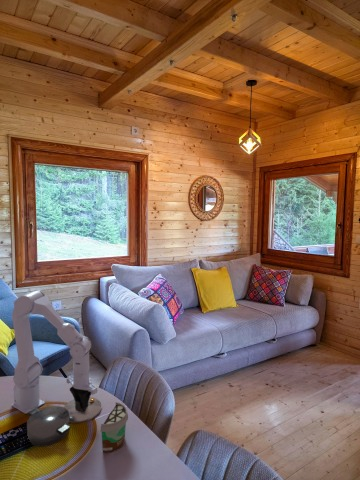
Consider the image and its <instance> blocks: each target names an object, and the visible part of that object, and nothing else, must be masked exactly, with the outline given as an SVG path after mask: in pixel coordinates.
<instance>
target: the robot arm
mask: <svg viewBox="0 0 360 480" xmlns="http://www.w3.org/2000/svg"><path fill="white" fill-rule="evenodd" d="M13 306H14V307H13V309H12V313H11V318H12V326H13V331H14V337H15V338H14V339H15V345H16V352H17V359H18V360H17V363H16V365H15V366H14V375H13V383H14V386H13V403H11V406H12V407H14V409H16V410H18V411H20V412H22V413H23V414H29V412H30V411H32V410H34V409H35V408H39V407H40V406H43V405H45V403H46V402H45V401H44V400H42V399H41V398H40V397H41V396H40V375H42V374H43V373H42V372H43V370H44V369H43V365H42V364H41V362H40V358H39V357H38V356H36V355H35V351H34V343H33V337H32V329H31V321H30V316H31V315H42V316H43V317H44V318H45V319H46V320H47V321H48V322H49V323H50V324H51V325H52V326H53V327H54V328H56V330H57V334H56V335H57V336H58V337H59V338H60V339H61V340H62V341H63V342H64V343H65V345H66V346H67V347H68V348H69V354H70V356H71V357H72V375H70V376H68V377H66V383H67V384H70V385H71V387H69V391H70V393H71V394H72V396H73V400H77V399H78V398H80V400H81V407H82V409H84V408H86V407H87V406H88V401H89V398H90V397H92V395H95V394H96V393H98V387H97V386H95V385H94V384H93V383H92V382H91V381H92V378H91V377H90V349H91V348H92V341H91V340H90V338H89V337H88V336H84V335H83V334H81V333H80V332H79V331H78V330H77V329H76V326H75V325H74V324H72V323H70V322H65V321H64V319H63V318H62V317H61V315H60V314H59V313H58V312H57V310H56V309H55V308H54V306H53V305H52V303H50V298H49V297H48V296H47V295H45V292H43V291H42V290H41V289H34V290H32V291H31V292H28V293H26V294H23V295H21V296H19V297H17V298H16V300H14V302H13Z"/></svg>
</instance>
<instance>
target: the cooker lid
mask: <svg viewBox="0 0 360 480" xmlns="http://www.w3.org/2000/svg"><path fill="white" fill-rule="evenodd" d="M63 407H64V408H66V409H67V410H68V412H69V423H73V424H78V423H84V422H88V421H91V420H93V419H94V418H96V417H97V416H98V415H99V414H100V412H101V410H102V403H101V401H100V400H99V399H98V398H95V397H93V396H90V398H89V401H88V406H87V407H86V408H84V409H82V407H81V400H80V398H78V399H77V400H74V399H72V400H70V401H68V402H67V403H65V404H64V406H63Z"/></svg>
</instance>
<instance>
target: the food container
mask: <svg viewBox="0 0 360 480" xmlns="http://www.w3.org/2000/svg"><path fill="white" fill-rule="evenodd" d="M128 420H129V413H128V409H127V408H126V406H125V405H124V404H122V403H120V402H117V401H116V402H115V406H114V408H113V409H112V411H110V412H109V414H108V415H107V418H106V419H105V420H104V422H103V423H100V429H99V430H100V431H99V432H101V433H100V434H101V446H102V453H103V454H104V453H106V454H107V453H109V454H110V453H113V452H116V451H119V450H120V449H121V448H122V447H123V446H124V445H125V439H126V426H127V425H126V424H127V422H128Z"/></svg>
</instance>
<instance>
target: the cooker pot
mask: <svg viewBox="0 0 360 480" xmlns="http://www.w3.org/2000/svg"><path fill="white" fill-rule="evenodd" d="M28 416H29V417H28V419H27V421H26V432H27V435H26V436H28V438H27V440H28V439H29V440H30V442H31V443H32V444H31V445H32V446H34V447H46V446H47V447H48V446H51V445H55V444H56V443H58V442H60V441H61V440H63V439H64V438H65V437H66V436H67V435H68V433H69V431H70V430H71V426H70V422H69V412H68V410H67V409H66V408H64V406H59V405H52V406H47V407H43V408H40V409H39V407H37V408H35V409H34V410H32V411H30V412H28Z"/></svg>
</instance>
